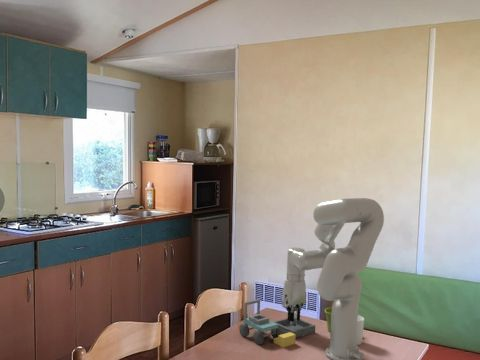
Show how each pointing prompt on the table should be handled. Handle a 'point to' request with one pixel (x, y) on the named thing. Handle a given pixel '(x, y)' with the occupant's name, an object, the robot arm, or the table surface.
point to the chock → (285, 339)
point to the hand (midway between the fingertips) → (293, 319)
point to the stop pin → (294, 316)
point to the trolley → (258, 324)
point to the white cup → (359, 329)
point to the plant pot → (328, 318)
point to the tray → (295, 327)
